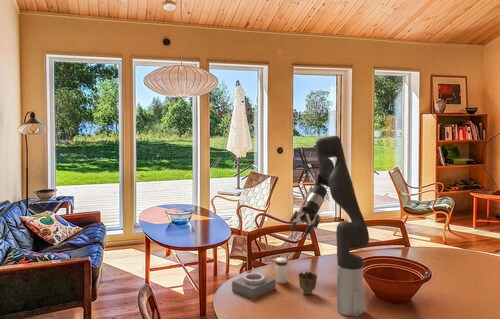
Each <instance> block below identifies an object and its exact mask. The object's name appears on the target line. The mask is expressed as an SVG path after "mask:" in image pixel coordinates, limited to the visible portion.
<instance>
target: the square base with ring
mask: <svg viewBox="0 0 500 319" xmlns="http://www.w3.org/2000/svg"><path fill="white" fill-rule="evenodd" d="M275 289H276V278H273V277H269V276H267V275H264V274H262V273H259V272H248V273H245V274H244V275H243V276H242V277H239V278H237V279H234V280H232V281H231V290H232V292H234V293H237V294H240V295H242V296H245V297H247V298H249V299H252V300H255V299H257V298H258V297H260V296H263V295H266V294H267V293H268V292H271V291H273V290H275Z"/></svg>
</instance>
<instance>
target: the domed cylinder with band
mask: <svg viewBox="0 0 500 319" xmlns="http://www.w3.org/2000/svg"><path fill="white" fill-rule="evenodd" d="M275 283H277V284H281V285H282V284H283V285H285V284H287V283H288V259H287V258H286V257H276V258H275Z"/></svg>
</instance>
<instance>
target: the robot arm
mask: <svg viewBox="0 0 500 319" xmlns="http://www.w3.org/2000/svg"><path fill="white" fill-rule="evenodd" d="M315 151H316V152H315V153H316V157H317V162H318V171H317V172H316V175H315V180H314V184H313V188H312V190H311V192H310V193H309V195H308V196H307V198H306V200H305V201H304V204H303V206H302V208H301V211H300V212H299V211H298V210H295V211H294V212H293V214H292V216H291V217H290V219H289V220H290V222H291V225H290V227H289V229H290V231H291V232H294V230H296V227H297V225H298V224H301V223H306V224H308V225H307V228H306V229H305V231H304V232H305V235H306V236H308V235H310V233H311V232H312V230H313V229H317V228H318V226H319V223H320V221H321V216H320V215H319V214H318V213H319V212H320V209H321V206H322V205H323V202H324V199H325V197H326V195H327V192H328V190H327V188H328V189H329V193H330V196H331V198H332V199H333V201H334V202H335V203H336V204H337V205H338V206H339V207H340V208H341V209H342V210H344V212H345V213H346V214H347V215H348V217H349V219H350V221H345V222H344V221H343V222H339V223H338V224H337V226H336V231H335V232H336V233H335V234H336V237H335V239H336V257H337V258H336V259H337V263H336V264H337V271H336V274H337V275H336V276H337V278H336V311H337V312H338V313H339V314H341V315H344V316H347V317H355V318H358V317H359V316H361V315H362V314H363V313H365V310H366V303H365V302H366V286H365V285H364V258H363V257H361V256H360V255H357V254H354V253H351V252H350V251H349V250H350V249H351V248H353V249H354V248H355V249H356V248H365V247H368V245H369V243H370V234H369V230H368V227H367V224H366V221H365V219H364V217H363V216H364V215H363V214H362V211H361V208H360V205H359V203H358V199H357V195H356V192H355V188H354V187H355V186H354V185H353V181H352V178H351V175H350V172H349V168H348V166H347V163H346V161H347V160H346V157H345V153H344V148H343V144H342V140H341V138H340V137H339V135H331V136H324V137H319V138H317V139H316V141H315ZM331 158H332V159H333V158H336V160H335V164H334V162H333V161H332V159H331ZM326 187H327V188H326ZM349 248H350V249H349Z"/></svg>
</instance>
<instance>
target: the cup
mask: <svg viewBox="0 0 500 319" xmlns="http://www.w3.org/2000/svg"><path fill="white" fill-rule="evenodd" d="M317 278H318V276H317V273H314V272H313V273H312V272H311V271H309V272H308V271H305V273H303V272H299V274H298V280H299V281H298V282H299V283H298V284H299V286H300V289H301V290H303V291H302V293H303V295H306V296H309V295H312V294H313V291H314V290H315V289H316V286H317V280H318V279H317Z"/></svg>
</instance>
